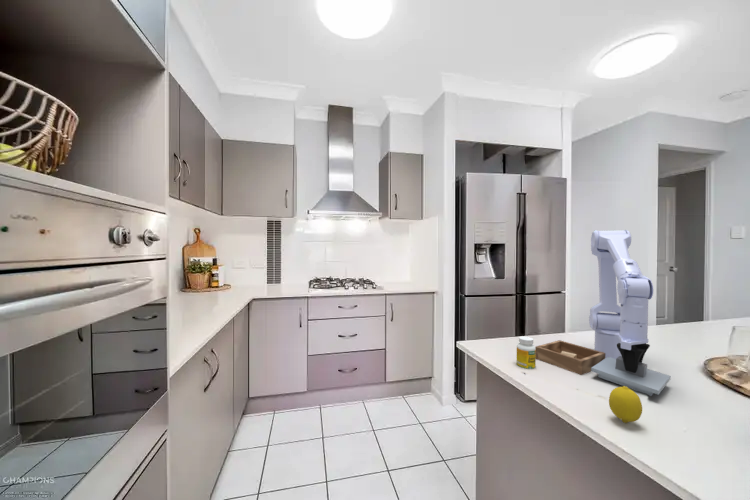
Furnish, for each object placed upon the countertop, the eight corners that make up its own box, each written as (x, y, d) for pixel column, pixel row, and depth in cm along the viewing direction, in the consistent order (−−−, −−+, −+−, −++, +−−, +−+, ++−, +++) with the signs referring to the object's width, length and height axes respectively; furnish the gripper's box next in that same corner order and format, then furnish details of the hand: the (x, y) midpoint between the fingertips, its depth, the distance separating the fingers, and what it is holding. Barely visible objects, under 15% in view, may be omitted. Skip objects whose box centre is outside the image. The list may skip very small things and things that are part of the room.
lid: (607, 364, 91) (608, 347, 91) (669, 384, 80) (672, 365, 80) (590, 376, 83) (592, 357, 83) (657, 400, 72) (660, 379, 72)
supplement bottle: (522, 363, 96) (522, 334, 95) (538, 369, 91) (539, 339, 91) (512, 367, 93) (513, 337, 93) (529, 373, 88) (530, 342, 88)
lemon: (602, 415, 67) (602, 381, 66) (624, 414, 67) (625, 380, 67) (624, 431, 61) (625, 393, 61) (649, 430, 62) (650, 392, 61)
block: (562, 356, 99) (562, 351, 99) (576, 360, 96) (576, 354, 96) (559, 360, 96) (559, 354, 96) (573, 363, 93) (573, 357, 93)
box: (559, 354, 104) (559, 340, 104) (605, 368, 92) (605, 353, 92) (535, 361, 98) (535, 346, 97) (581, 378, 85) (581, 361, 85)
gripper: (623, 314, 88) (622, 359, 89) (607, 322, 80) (606, 371, 80) (655, 319, 83) (654, 367, 83) (641, 328, 74) (640, 381, 74)
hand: (632, 369), depth 81 cm, fingers closed on lid, 3 cm apart
